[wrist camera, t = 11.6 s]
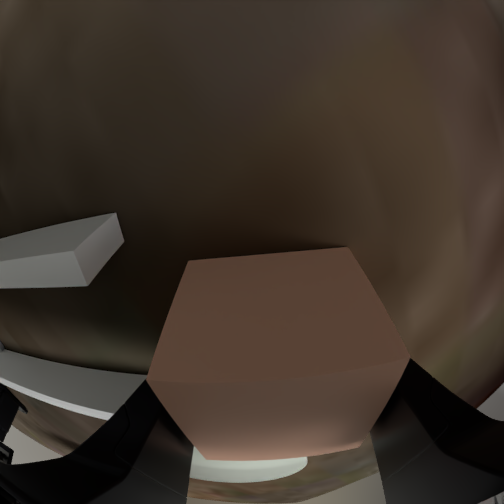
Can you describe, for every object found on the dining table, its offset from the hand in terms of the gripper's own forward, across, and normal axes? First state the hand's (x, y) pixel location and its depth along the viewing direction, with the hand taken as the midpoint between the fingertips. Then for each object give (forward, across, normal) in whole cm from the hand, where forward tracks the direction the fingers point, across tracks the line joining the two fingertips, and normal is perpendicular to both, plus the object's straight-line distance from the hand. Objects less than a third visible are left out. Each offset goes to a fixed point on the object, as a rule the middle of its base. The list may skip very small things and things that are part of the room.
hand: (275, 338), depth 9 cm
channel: (+1, +15, 0) cm, 15 cm away
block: (+1, 0, 0) cm, 1 cm away
